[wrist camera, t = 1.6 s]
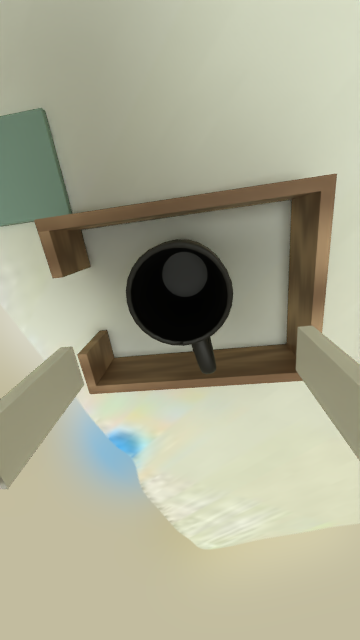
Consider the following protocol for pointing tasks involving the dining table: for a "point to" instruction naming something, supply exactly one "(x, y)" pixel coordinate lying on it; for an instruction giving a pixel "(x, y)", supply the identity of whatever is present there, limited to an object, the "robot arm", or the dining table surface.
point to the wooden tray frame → (231, 364)
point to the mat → (29, 170)
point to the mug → (181, 296)
